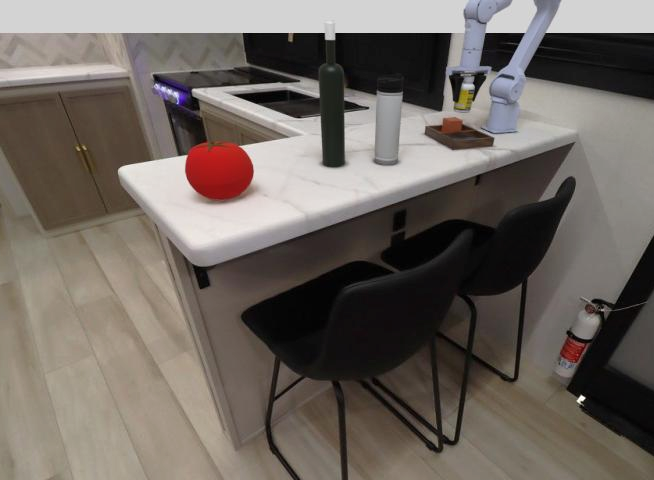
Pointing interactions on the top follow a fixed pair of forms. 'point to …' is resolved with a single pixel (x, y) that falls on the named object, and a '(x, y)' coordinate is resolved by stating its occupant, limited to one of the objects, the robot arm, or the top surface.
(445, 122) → the terracotta block
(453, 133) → the sorting tray
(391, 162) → the travel mug
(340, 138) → the wine bottle
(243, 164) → the tomato
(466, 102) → the supplement bottle
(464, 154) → the top surface
